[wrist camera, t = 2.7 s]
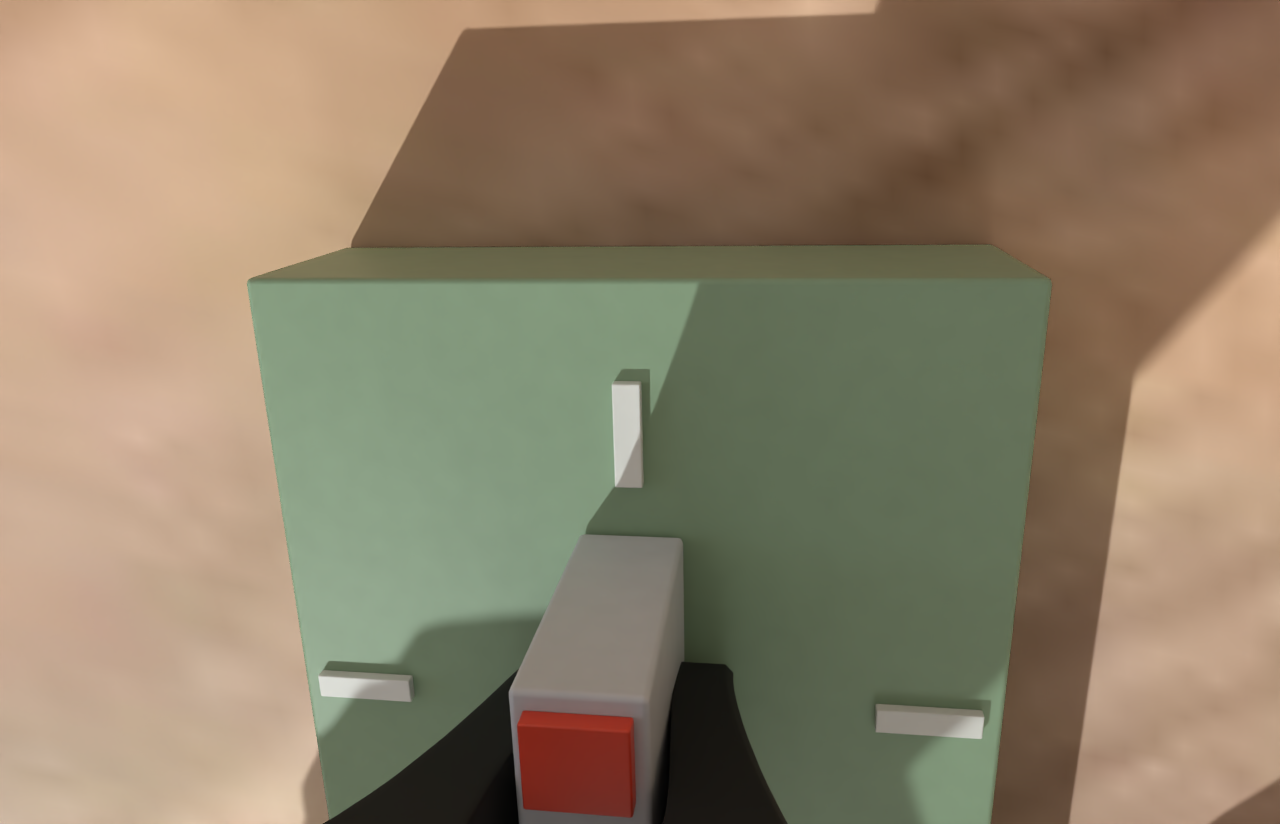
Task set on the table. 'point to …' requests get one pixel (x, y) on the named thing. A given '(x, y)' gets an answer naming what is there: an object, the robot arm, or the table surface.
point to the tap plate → (667, 490)
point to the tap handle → (601, 686)
